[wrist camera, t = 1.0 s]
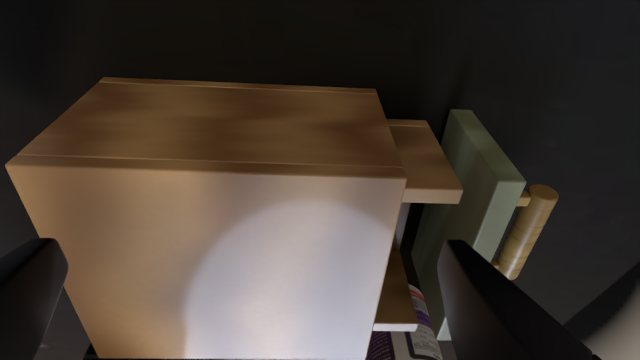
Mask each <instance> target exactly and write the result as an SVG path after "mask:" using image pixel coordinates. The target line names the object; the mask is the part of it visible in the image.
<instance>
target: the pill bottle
mask: <svg viewBox="0 0 640 360" xmlns="http://www.w3.org/2000/svg"><path fill="white" fill-rule="evenodd" d="M408 285H409V289H410V293H411V296H412V300H413V304H414V308H415V312H416V315H417V319H418V327H417V330H416V331H372V335H371V339H370V344H369V348H368V353H367V357H366V360H443V359H442V355H441V352H440V348H439V345H438V342H437V340H436V338H435V335H434V332H433V328H432V325H431V321H430V318H429V314H428V311H427V307H426V304H425V301H424V297H423V295H422V293H421V292H420V291H419V290H418V289H417V288H416V287H414V286H412V285H410V284H408Z"/></svg>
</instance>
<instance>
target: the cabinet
mask: <svg viewBox="0 0 640 360" xmlns="http://www.w3.org/2000/svg"><path fill="white" fill-rule="evenodd" d="M5 167H6V169H7V171H8V174H9V176H10V178H11V180H12V182H13V184H14V186H15V188H16V190H17V192H18V194H19V196H20V198H21V200H22V202H23V204H24V206H25V208H26V210H27V212H28V214H29V216H30V218H31V220H32V223H33V225H34V227H35V229H36V231H37V233H38V235H39V237H40V238H54V239H56V240H57V241H58V243H59V245H60V247H61V249H62V251H63V253H64V255H65V257H66V259H67V261H68V265H69V269H68V274H67V277H66V279H65V282H64V285H63V286H64V288H65V290H66V292H67V294H68V296H69V298H70V300H71V302H72V304H73V306H74V308H75V310H76V312H77V314H78V316H79V319H80V321H81V323H82V325H83V327H84V329H85V331H86V333H87V335H88V337H89V339H90V341H91V343H92V345H93V347H94V349H95V351H96V353H97V355H98V357H99V358H132V359H299V360H366V357H367V353H368V348H369V344H370V339H371V335H372V331H373V326H374V322H375V318H376V313H377V309H378V304H379V300H380V296H381V291H382V287H383V282H384V278H385V274H386V269H387V265H388V261H389V256H390V252H391V247H392V243H393V239H394V234H395V230H396V226H397V221H398V217H399V212H400V208H401V204H402V199H403V195H404V190H405V186H406V182H407V176H406V173H405V170H404V169H403V165H402V162H401V159H400V156H399V154H398V151H397V148H396V145H395V142H394V140H393V137H392V134H391V131H390V128H389V126H388V123H387V120H386V117H385V114H384V112H383V109H382V106H381V103H380V100H379V98H378V95H377V92H376V89H364V88H342V87H319V86H296V85H274V84H251V83H228V82H206V81H183V80H161V79H138V78H115V77H103V78H102V79H101V80H100V81H99V82H98V83H97V84H96V85H95V86H94V87H92V88H91V89H90V90H89V91H88V92H87V93H86V94H84V95H83V96H82V97H81V98H80V99H79V100H78V101H77V102H75V103H74V104H73V105H72V106H71V107H70V108H69V109H67V110H66V111H65V112H64V113H63V114H62V115H61V116H60V117H58V118H57V119H56V120H55V121H54V122H53V123H52V124H51V125H49V126H48V127H47V128H46V129H45V130H44V131H43V132H41V133H40V134H39V135H38V136H37V137H36V138H35V139H34V140H32V141H31V142H30V143H29V144H28V145H27V146H26V147H24V148H23V149H22V150H21V151H20V152H19V153H18V154H17V156H14V157H13V158H12V159H11V160H10V161H9V162H7V163H6V164H5Z"/></svg>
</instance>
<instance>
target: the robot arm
mask: <svg viewBox="0 0 640 360" xmlns="http://www.w3.org/2000/svg"><path fill="white" fill-rule="evenodd" d="M68 269H69V265H68V261H67V259H66V257H65V255H64V253H63V251H62V249H61V247H60V245H59V243H58V241H57V240H56V239H54V238H34V239H32V240H30V241H28V242H27V243H25V244H23V245H22V246H20V247H18V248H17V249H15V250H13V251H12V252H10V253H8V254H7V255H5V256H3V257H2V258H0V360H33V359H34V357H35V355H36V353H37V351H38V349H39V347H40V345H41V342H42V340H43V338H44V336H45V334H46V331H47V329H48V326H49V324H50V321H51V318H52V315H53V313H54V310H55V307H56V304H57V302H58V299H59V296H60V293H61V290H62V288H63V285H64V282H65V279H66V277H67V274H68ZM437 273H438V278H439V283H440V289H441V294H442V299H443V304H444V309H445V315H446V320H447V325H448V329H449V333H450V337H451V340H452V344H453V347H454V350H455V353H456V356H457V360H601V359H600V358H599V357H598V356H597V355H595V354H593V355H592V351H591V350H590V349H589V348H587V347H586V346H585V345H584V344H583V343H582V342H581V341H579V340H578V339H577V338H576V337H575V336H574V335H572V334H571V333H570V332H569V331H568V330H567V329H565V328H564V327H563V326H562V325H561V324H560V323H559V322H558V321H556V320H555V319H554V318H553V317H552V316H551V315H549V314H548V313H547V312H546V311H545V310H544V309H543V308H541V307H540V306H539V305H538V304H537V303H536V302H534V301H533V300H532V299H531V298H530V297H529V296H528V295H526V294H525V293H524V292H523V291H522V290H521V289H520V288H518V287H517V286H516V285H515V284H514V283H513V282H511V281H510V280H509V279H508V278H507V277H506V276H505V275H503V274H502V273H501V272H500V271H499V270H498V269H496V268H495V267H494V266H493V265H492V264H491V263H490V262H488V261H487V260H486V259H485V258H484V257H483V256H481V255H480V254H479V253H478V252H477V251H476V250H475V249H473V248H472V247H471V246H470V245H469V244H468V243H467V242H465V241H464V240H461V239H447V240H445V241H444V243H443V246H442V250H441V253H440V256H439V260H438V263H437ZM83 360H165V359H132V358H99V357H98V355H97V353H96V351H95V349H94V347H93V345H92V343H90V345H89V347H88V349H87V351H86V354H85V357H84V359H83Z"/></svg>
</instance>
